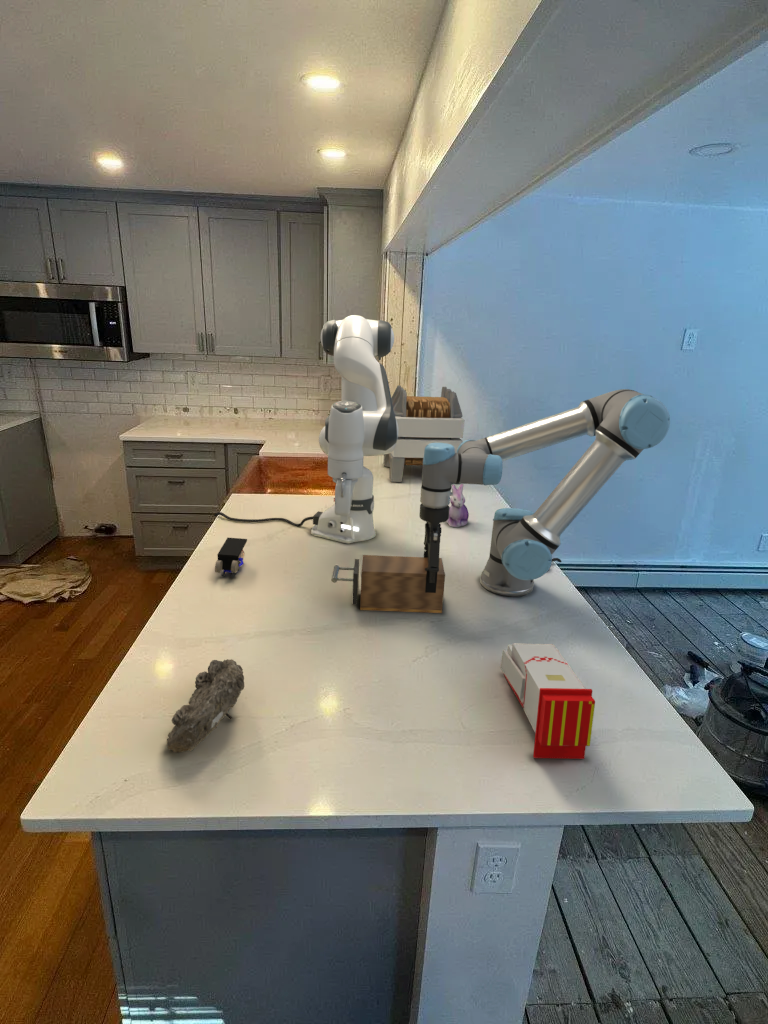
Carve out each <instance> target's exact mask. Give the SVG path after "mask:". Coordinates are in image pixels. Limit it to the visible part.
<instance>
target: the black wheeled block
mask: <svg viewBox="0 0 768 1024" xmlns="http://www.w3.org/2000/svg"><path fill="white" fill-rule="evenodd" d="M247 542H248V538H240V537H226V539H225V541H224V543H223V544H222V546H221V547H220V549H219V551H218V552H217V560H216V562H215V564H214V572H215V573H221V577H222V578H224V577H225V576H226V574H227V573H230V574H231V573H232V574H231V578H234V577H235V575H236V573H237V572H239V571H240V567H242V566H243V565H244V564H245V562H244V558H245V551H244V547H245V546H246V544H247Z"/></svg>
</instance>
